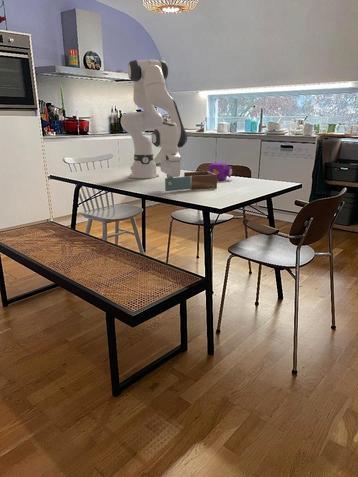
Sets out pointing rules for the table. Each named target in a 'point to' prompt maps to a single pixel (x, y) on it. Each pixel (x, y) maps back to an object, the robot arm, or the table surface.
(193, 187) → the storage case
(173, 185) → the side door
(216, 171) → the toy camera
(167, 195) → the table surface
